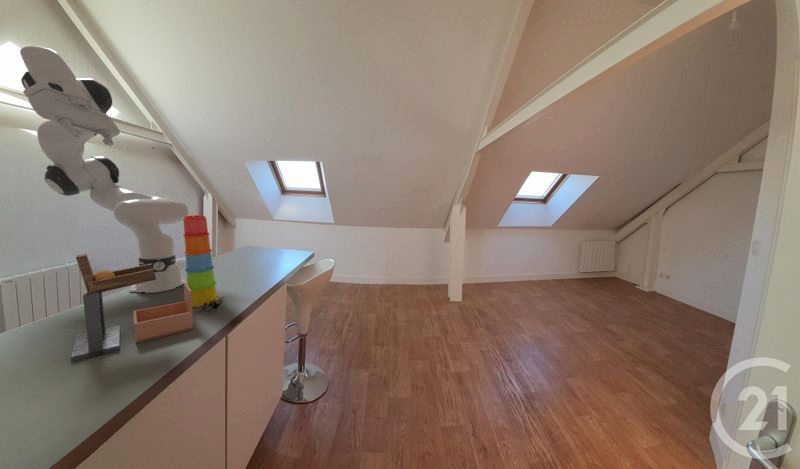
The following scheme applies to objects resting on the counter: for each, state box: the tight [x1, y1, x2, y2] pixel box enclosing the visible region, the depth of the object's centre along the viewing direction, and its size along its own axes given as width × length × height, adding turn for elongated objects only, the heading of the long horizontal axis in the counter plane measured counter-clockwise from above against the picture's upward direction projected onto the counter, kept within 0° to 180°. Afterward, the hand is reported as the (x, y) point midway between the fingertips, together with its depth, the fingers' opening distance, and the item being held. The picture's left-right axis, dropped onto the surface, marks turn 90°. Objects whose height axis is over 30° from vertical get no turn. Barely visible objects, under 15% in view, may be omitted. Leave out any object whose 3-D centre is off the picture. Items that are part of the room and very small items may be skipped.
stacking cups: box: [182, 214, 219, 308], centre depth 104 cm, size 10×10×35 cm
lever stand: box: [70, 292, 121, 364], centre depth 74 cm, size 15×8×17 cm, turn 46°
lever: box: [75, 253, 156, 293], centre depth 76 cm, size 10×14×11 cm
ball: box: [94, 270, 115, 281], centre depth 74 cm, size 4×4×4 cm
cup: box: [132, 281, 194, 344], centre depth 84 cm, size 11×13×13 cm
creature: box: [198, 296, 224, 313], centre depth 100 cm, size 8×5×8 cm
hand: (94, 140), depth 83 cm, fingers open, 8 cm apart
